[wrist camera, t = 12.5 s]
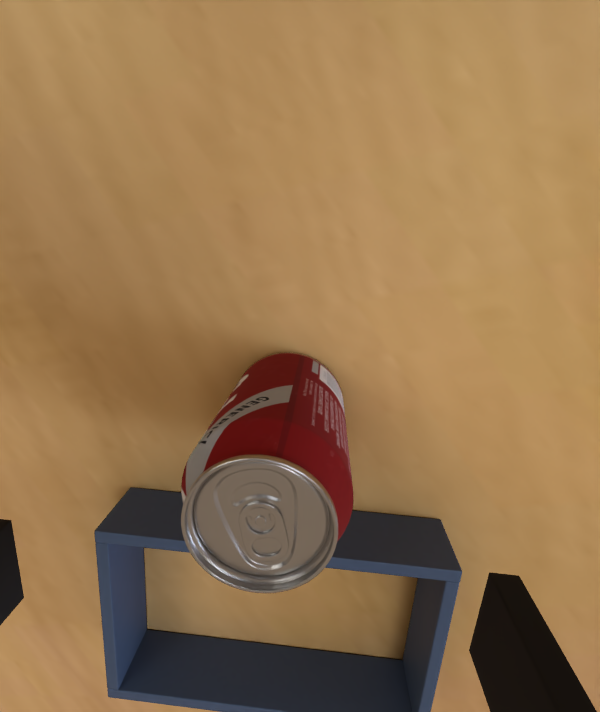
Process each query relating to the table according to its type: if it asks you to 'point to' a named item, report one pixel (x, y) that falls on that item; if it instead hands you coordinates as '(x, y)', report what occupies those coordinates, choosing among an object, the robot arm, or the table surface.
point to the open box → (265, 661)
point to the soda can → (270, 478)
